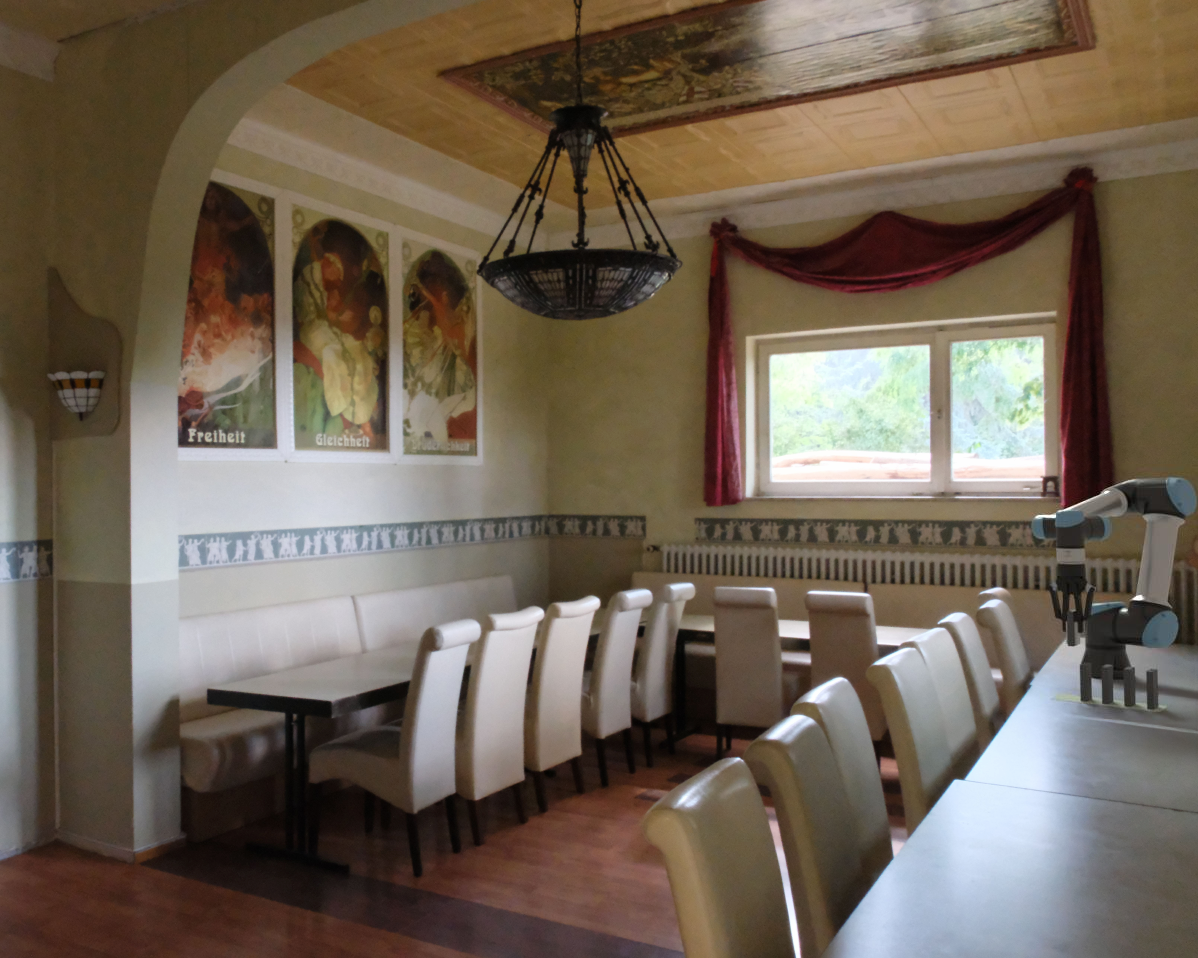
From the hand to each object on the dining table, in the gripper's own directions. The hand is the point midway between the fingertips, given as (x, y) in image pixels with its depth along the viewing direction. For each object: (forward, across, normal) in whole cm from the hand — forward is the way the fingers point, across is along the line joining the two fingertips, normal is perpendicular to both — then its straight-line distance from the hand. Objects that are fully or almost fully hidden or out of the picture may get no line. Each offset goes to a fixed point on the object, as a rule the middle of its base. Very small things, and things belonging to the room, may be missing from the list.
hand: (1073, 643), depth 283 cm
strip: (+14, +11, -10) cm, 21 cm away
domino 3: (+14, +11, -10) cm, 21 cm away
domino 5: (+14, +22, -10) cm, 28 cm away
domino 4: (+14, +17, -10) cm, 24 cm away
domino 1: (0, 0, 0) cm, 0 cm away
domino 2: (+14, +6, -10) cm, 18 cm away
